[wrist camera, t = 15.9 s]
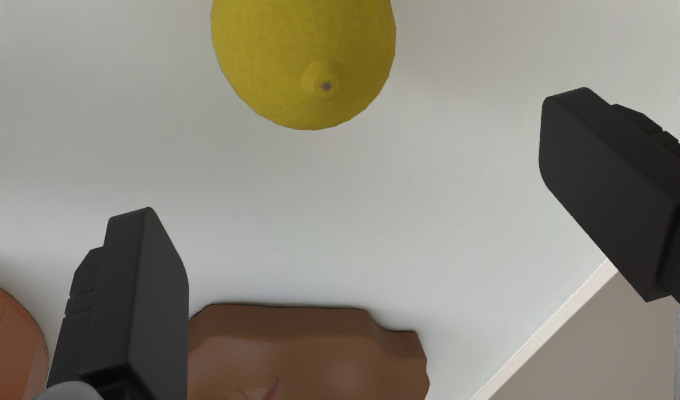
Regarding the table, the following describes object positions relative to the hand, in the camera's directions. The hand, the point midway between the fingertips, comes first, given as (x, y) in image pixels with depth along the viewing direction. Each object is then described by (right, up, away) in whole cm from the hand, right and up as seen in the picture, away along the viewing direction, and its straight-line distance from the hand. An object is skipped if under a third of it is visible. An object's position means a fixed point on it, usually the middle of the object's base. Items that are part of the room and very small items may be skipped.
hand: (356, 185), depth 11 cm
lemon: (-2, +8, +9) cm, 12 cm away
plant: (-5, -14, +25) cm, 29 cm away
